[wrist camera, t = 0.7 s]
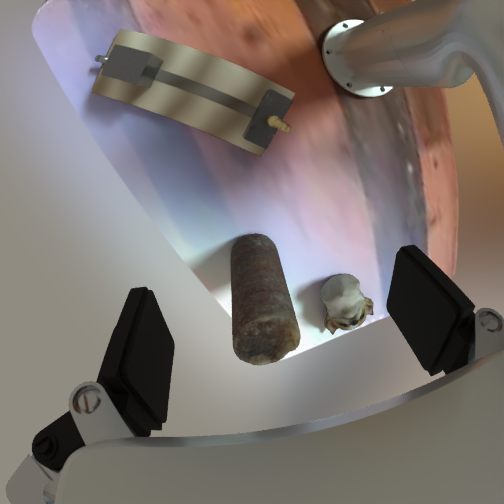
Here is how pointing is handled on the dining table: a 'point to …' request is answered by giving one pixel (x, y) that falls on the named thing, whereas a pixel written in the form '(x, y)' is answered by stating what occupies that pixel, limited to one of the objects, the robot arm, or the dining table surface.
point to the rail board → (193, 89)
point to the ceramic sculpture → (344, 303)
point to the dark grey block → (130, 65)
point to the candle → (260, 303)
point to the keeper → (268, 119)
